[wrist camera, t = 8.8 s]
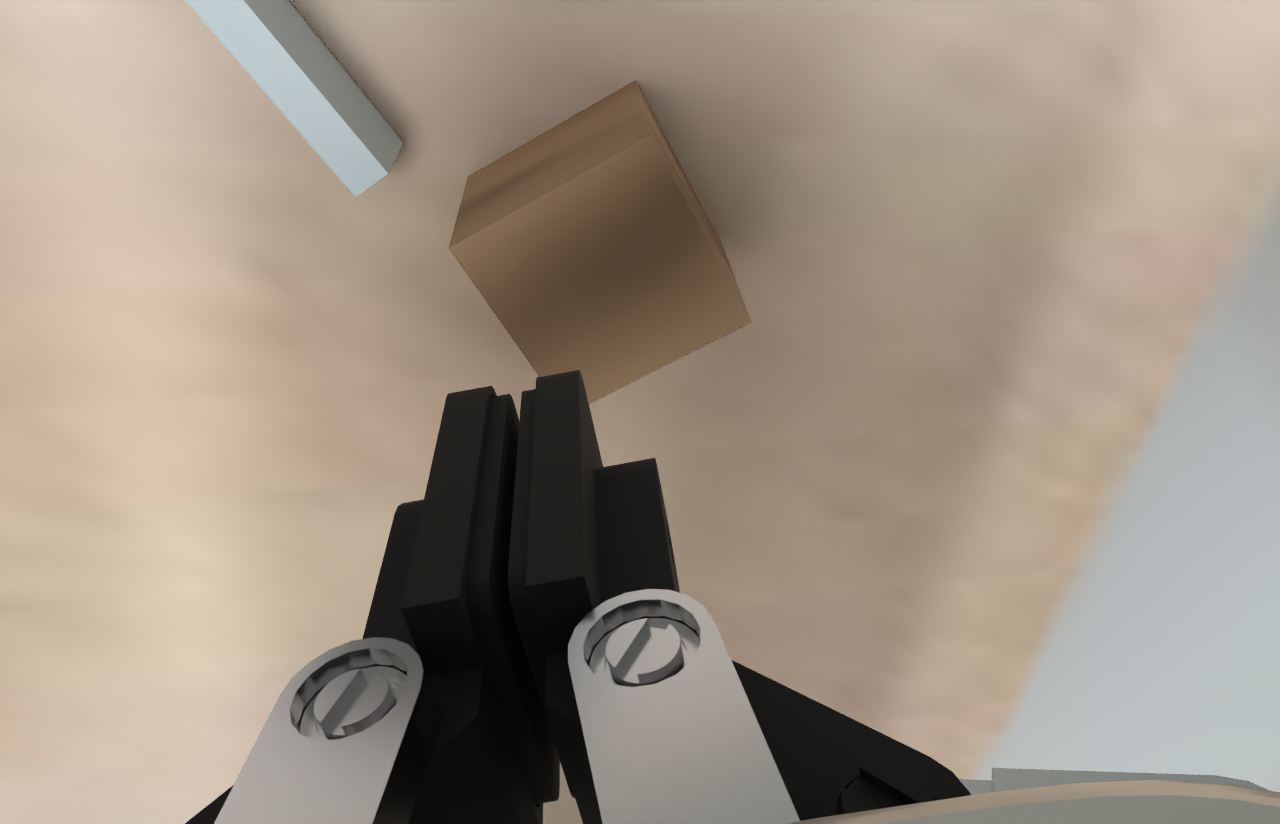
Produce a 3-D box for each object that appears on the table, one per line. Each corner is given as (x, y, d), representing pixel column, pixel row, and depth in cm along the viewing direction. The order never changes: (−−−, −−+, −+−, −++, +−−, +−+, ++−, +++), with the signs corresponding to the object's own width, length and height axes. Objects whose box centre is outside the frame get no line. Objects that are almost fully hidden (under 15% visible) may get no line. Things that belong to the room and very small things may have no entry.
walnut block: (721, 241, 26) (751, 322, 22) (565, 323, 27) (566, 415, 23) (635, 79, 24) (650, 135, 20) (468, 175, 25) (448, 248, 21)
